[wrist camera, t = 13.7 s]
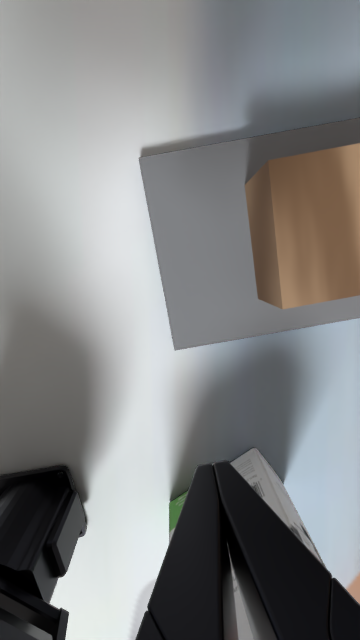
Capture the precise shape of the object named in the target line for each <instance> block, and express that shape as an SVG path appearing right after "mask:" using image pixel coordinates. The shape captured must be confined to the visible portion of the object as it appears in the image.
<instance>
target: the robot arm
mask: <svg viewBox="0 0 360 640" xmlns="http://www.w3.org/2000/svg"><path fill="white" fill-rule="evenodd" d="M60 472H62V473H63V474H62V473H60ZM86 529H87V526H86V522H85V514H84V511H83V508H82V505H81V501H80V498H79V495H78V492H77V491H76V490H75V487H74V484H73V481H72V478H71V474H70V471H69V469H68V467H66V466H55V467H50V468H44V469H38V470H32V471H27V472H21V473H15V474H9V475H4V476H0V640H65V637H66V630H67V623H68V616H69V612H68V611H66V610H64V609H63V608H60V609H58V608H56V607H54V606H53V605H51V604H49V603H50V600H51V598H52V595H53V592H54V589H55V586H56V584H57V581H58V578H59V577H63V576H64V575H65V574H66V572H67V570H68V567H69V564H70V561H71V558H72V555H73V552H74V549H75V546H76V543H77V540H78V538H79V537H82V536H84V535H85V533H86ZM228 549H229V550H228ZM229 554H230V556H229ZM230 558H231V561H230ZM231 563H232V567H233V571H234V574H235V578H236V581H237V585H238V588H239V592H240V595H241V598H242V602H243V605H244V608H245V612H246V615H247V618H248V622H249V625H250V629H251V632H252V635H253V639H254V640H360V604H359V603H358V602H357V601H356V600H355V599H354V598H353V597H352V596H351V595H350V594H349V592H348V591H347V590H346V589H345V588H344V587H343V586H342V585H341V584H340V583H339V581H338V580H337V579H336V578H332V575H331V573H330V572H329V571H328V570H327V569H326V568H325V566H324V565H323V564H322V563H321V562H320V561H319V560H318V559H317V558H316V557H315V555H314V554H313V553H312V552H311V551H310V550H309V549H308V548H307V547H306V546H305V545H304V543H303V542H302V541H301V540H300V539H299V538H298V537H297V536H296V535H295V534H294V532H293V531H292V530H291V529H290V528H289V527H288V526H287V525H286V524H285V523H284V522H283V520H282V519H281V518H280V517H279V516H278V515H277V514H276V513H275V512H274V511H273V509H272V508H271V507H270V506H269V505H268V504H267V503H266V502H265V501H264V500H263V499H262V497H261V496H260V495H259V494H258V493H257V492H256V491H255V490H254V489H253V488H252V486H251V485H250V484H249V483H248V482H247V481H246V480H245V479H244V478H243V477H242V476H241V474H240V473H239V472H238V471H237V470H236V469H235V468H234V467H233V466H232V465H231V464H230V462H229V461H227V460H224V461H218V462H214V463H213V466H212V464H211V463H207V464H201V465H198V466H197V467H196V470H195V472H194V475H193V478H192V481H191V484H190V487H189V489H188V492H187V495H186V498H185V501H184V504H183V506H182V509H181V512H180V515H179V518H178V521H177V524H176V526H175V529H174V532H173V535H172V538H171V541H170V543H169V546H168V549H167V552H166V555H165V558H164V560H163V563H162V566H161V569H160V572H159V575H158V577H157V580H156V583H155V586H154V589H153V592H152V595H151V598H150V600H149V603H148V606H147V607H148V611H146V612H145V614H144V617H143V620H142V622H141V625H140V628H139V631H138V634H137V637H136V639H135V640H239V638H238V628H237V618H236V607H235V597H234V586H233V577H232V568H231Z"/></svg>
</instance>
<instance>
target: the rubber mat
mask: <svg viewBox="0 0 360 640" xmlns="http://www.w3.org/2000/svg"><path fill="white" fill-rule="evenodd" d="M358 143H360V118H355V119H349V120H344V121H338V122H333V123H327V124H322V125H316V126H311V127H305V128H300V129H294V130H289V131H283V132H278V133H272V134H267V135H261V136H256V137H250V138H245V139H239V140H233V141H228V142H222V143H217V144H211V145H206V146H200V147H195V148H189V149H184V150H178V151H173V152H167V153H162V154H156V155H151V156H145V157H140V158H139V163H140V168H141V173H142V179H143V184H144V189H145V195H146V200H147V205H148V211H149V216H150V221H151V227H152V232H153V237H154V243H155V248H156V253H157V259H158V264H159V269H160V275H161V280H162V285H163V291H164V296H165V301H166V307H167V312H168V317H169V323H170V328H171V333H172V339H173V344H174V349H175V350H180V349H186V348H192V347H197V346H203V345H209V344H214V343H220V342H226V341H231V340H237V339H243V338H248V337H254V336H260V335H265V334H271V333H277V332H282V331H288V330H294V329H299V328H305V327H311V326H316V325H322V324H328V323H334V322H339V321H345V320H351V319H356V318H360V295H359V296H354V297H348V298H343V299H337V300H332V301H326V302H321V303H315V304H310V305H304V306H299V307H293V308H288V309H280V308H278V307H276V306H273V305H271V304H269V303H266V302H264V301H262V300H259V299H258V296H257V287H256V279H255V270H254V261H253V253H252V244H251V236H250V227H249V219H248V210H247V202H246V193H245V184H246V183H247V182H248V181H249V180H250V179H251V178H252V177H253V176H254V175H255V174H256V173H257V172H258V170H259V169H260V168H261V167H262V166H263V165H264V164H265V163H266V162H267V161H268V160H272V159H278V158H283V157H288V156H294V155H299V154H304V153H310V152H315V151H320V150H326V149H331V148H336V147H342V146H347V145H352V144H358Z"/></svg>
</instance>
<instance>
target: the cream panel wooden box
mask: <svg viewBox="0 0 360 640" xmlns="http://www.w3.org/2000/svg"><path fill="white" fill-rule="evenodd" d="M245 193H246V202H247V210H248V219H249V227H250V236H251V244H252V253H253V261H254V270H255V279H256V287H257V296H258V299H259V300H262V301H264V302H266V303H269V304H271V305H273V306H276V307H278V308H280V309H288V308H293V307H299V306H304V305H310V304H315V303H321V302H326V301H332V300H337V299H343V298H348V297H354V296H359V295H360V143H358V144H352V145H347V146H342V147H336V148H331V149H326V150H320V151H315V152H310V153H304V154H299V155H294V156H288V157H283V158H278V159H272V160H268V161H267V162H266V163H265V164H264V165H263V166H262V167H261V168H260V169H259V170H258V172H257V173H256V174H255V175H254V176H253V177H252V178H251V179H250V180H249V181H248V182H247V183H246V184H245Z"/></svg>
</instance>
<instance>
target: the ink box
mask: <svg viewBox="0 0 360 640" xmlns="http://www.w3.org/2000/svg"><path fill="white" fill-rule="evenodd" d="M230 464H231V465H232V466H233V467H234V468H235V469H236V470H237V471H238V472H239V473H240V474H241V476H242V477H243V478H244V479H245V480H246V481H247V482H248V483H249V484H250V485H251V486H252V488H253V489H254V490H255V491H256V492H257V493H258V494H259V495H260V496H261V497H262V499H263V500H264V501H265V502H266V503H267V504H268V505H269V506H270V507H271V508H272V509H273V511H274V512H275V513H276V514H277V515H278V516H279V517H280V518H281V519H282V520H283V522H284V523H285V524H286V525H287V526H288V527H289V528H290V529H291V530H292V531H293V532H294V534H295V535H296V536H297V537H298V538H299V539H300V540H301V541H302V542H303V543H304V545H305V546H306V547H307V548H308V549H309V550H310V551H311V552H312V553H313V554H314V555H315V557H316V558H317V559H318V560H319V561H320V562H321V563H322V564H323V565H324V563H323V561H322V559H321V557H320V555H319V553H318V551H317V549H316V547H315V545H314V543H313V541H312V539H311V537H310V535H309V534H308V532H307V530H306V528H305V526H304V524H303V522H302V520H301V518H300V516H299V514H298V512H297V510H296V508H295V506H294V504H293V502H292V501H291V499H290V497H289V495H288V493H287V491H286V489H285V487H284V485H283V483H282V481H281V480H280V478H279V477H278V475H277V474H276V473H275V471H274V470H273V469H272V467H271V466H270V465H269V463H268V462H267V461H266V460H265V458H264V457H263V456H262V455H261V453H260V452H259V451H258V450H257V449H256V448H252V449H250V450H249V451H247V452H246V453H244V454H243V455H241V456H240V457H238V458H237V459H235V460H234V461H232V462H231V463H230ZM187 492H188V491H187ZM187 492H185V493H183V494H182V495H180V496H179V497H177V498H176V499H174V500H173V501H171V502H170V503H169V543H170V541H171V538H172V535H173V532H174V529H175V526H176V524H177V521H178V518H179V515H180V512H181V509H182V506H183V504H184V501H185V498H186V495H187ZM228 550H229V549H228ZM229 556H230V554H229ZM230 561H231V558H230ZM324 566H325V565H324ZM231 568H232V577H233V586H234V597H235V607H236V618H237V628H238V638H239V640H254V639H253V635H252V632H251V629H250V625H249V622H248V618H247V615H246V612H245V608H244V605H243V602H242V598H241V595H240V592H239V588H238V585H237V581H236V578H235V574H234V571H233V567H232V563H231ZM325 568H326V567H325ZM326 569H327V568H326Z"/></svg>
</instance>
